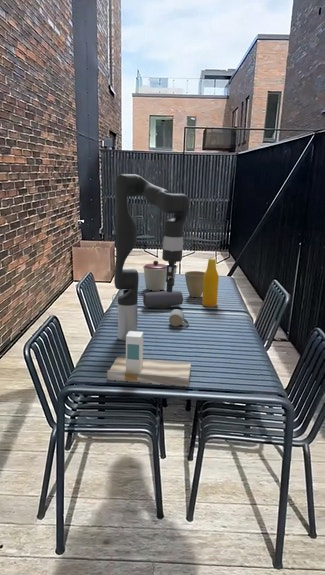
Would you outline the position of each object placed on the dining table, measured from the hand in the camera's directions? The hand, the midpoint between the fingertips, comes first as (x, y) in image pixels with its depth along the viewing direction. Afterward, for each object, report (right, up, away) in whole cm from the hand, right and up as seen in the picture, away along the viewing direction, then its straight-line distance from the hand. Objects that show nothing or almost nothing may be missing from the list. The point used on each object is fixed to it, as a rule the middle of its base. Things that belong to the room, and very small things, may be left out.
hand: (170, 288), depth 152 cm
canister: (-8, -1, +126) cm, 126 cm away
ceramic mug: (+6, -19, +54) cm, 58 cm away
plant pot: (+19, -6, +111) cm, 113 cm away
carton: (-14, -30, -3) cm, 33 cm away
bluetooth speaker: (-3, -12, +84) cm, 85 cm away
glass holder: (-24, -16, +64) cm, 70 cm away
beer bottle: (+26, -10, +92) cm, 97 cm away
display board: (-8, -33, -1) cm, 34 cm away
